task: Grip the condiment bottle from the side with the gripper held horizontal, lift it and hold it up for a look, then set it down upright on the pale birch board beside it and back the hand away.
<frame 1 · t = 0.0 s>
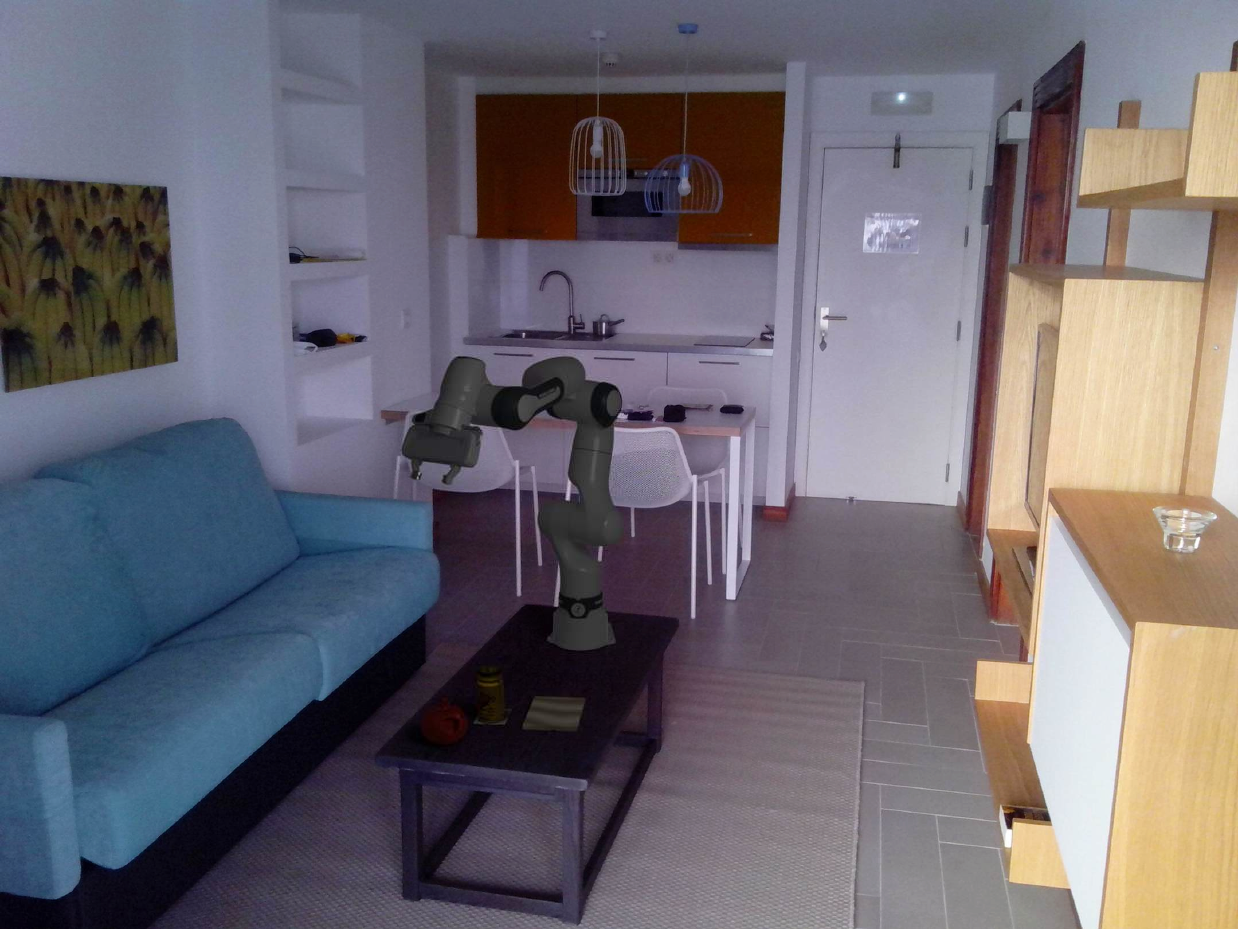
hand: (430, 481, 231), 54 cm above the table, tool tilted 30°, fingers open, 8 cm apart
pomegranate: (445, 739, 228), on the table
board: (554, 715, 239), on the table
condiment: (492, 718, 239), on the table
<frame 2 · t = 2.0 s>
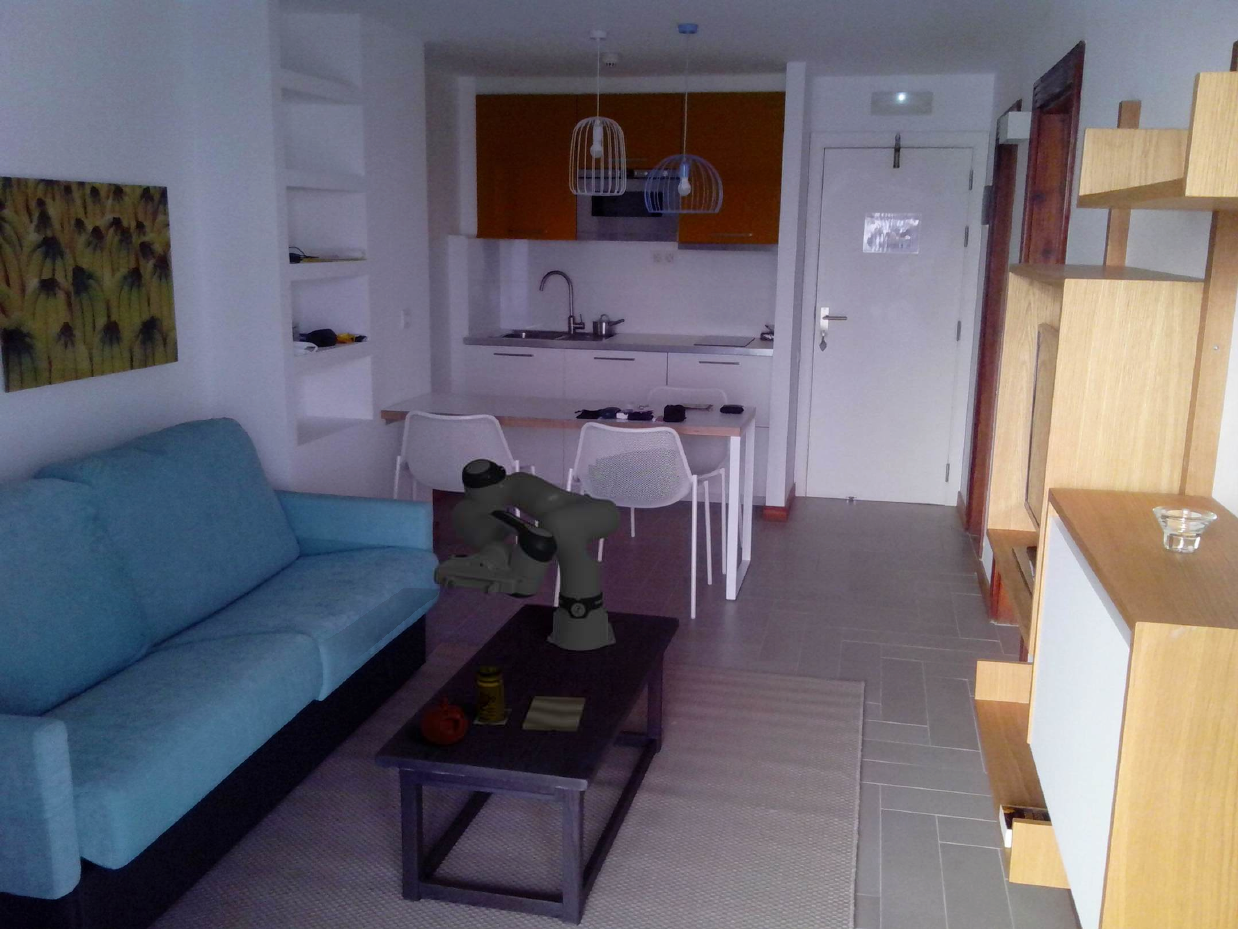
hand: (467, 588, 245), 27 cm above the table, tool horizontal, fingers open, 8 cm apart
nothing on the table moved.
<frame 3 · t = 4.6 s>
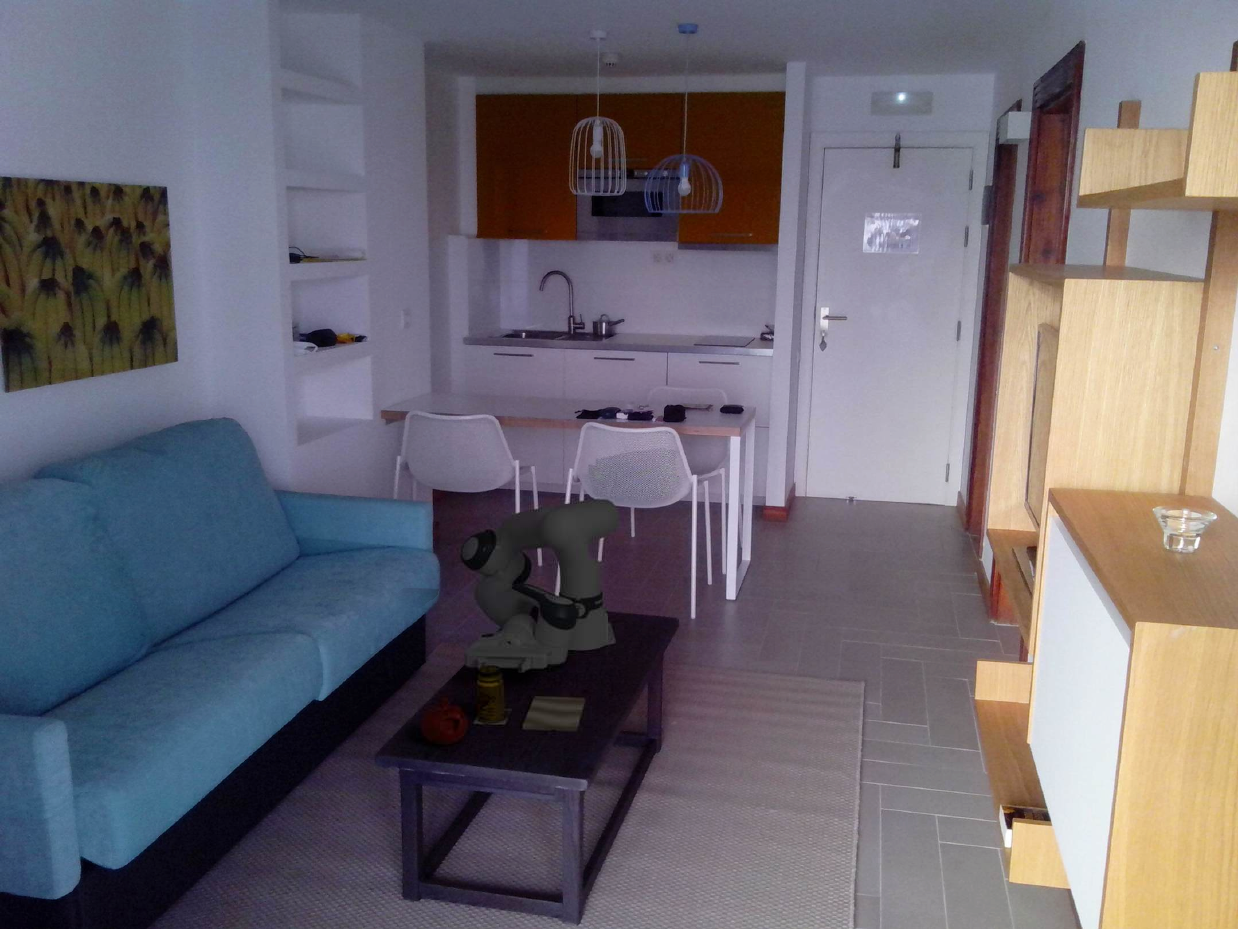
hand: (501, 669, 248), 7 cm above the table, tool horizontal, fingers open, 8 cm apart
nothing on the table moved.
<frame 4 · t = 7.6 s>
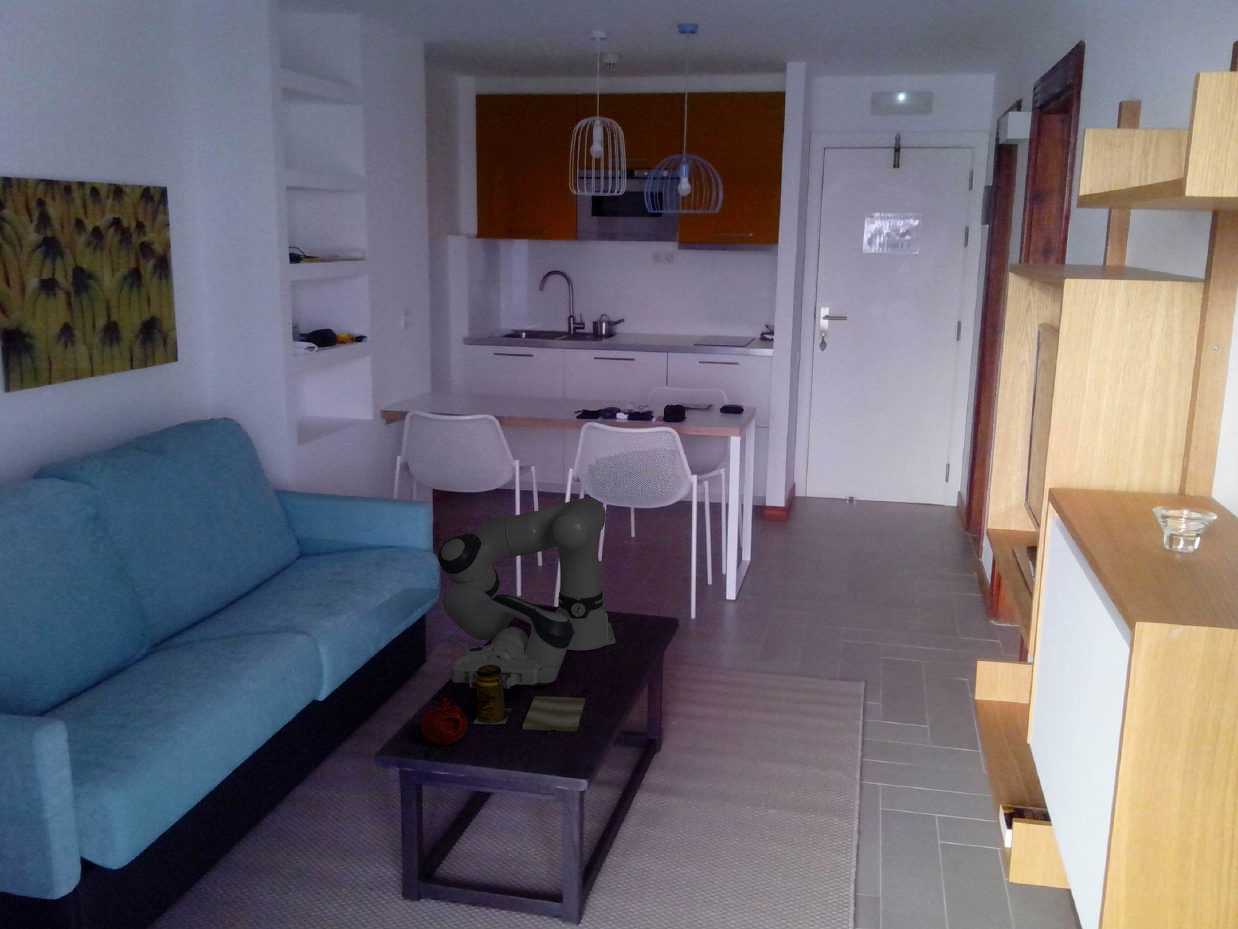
hand: (489, 685, 236), 8 cm above the table, tool horizontal, fingers closed on condiment, 6 cm apart
condiment: (492, 717, 239), on the table, touching gripper
everything else where it was.
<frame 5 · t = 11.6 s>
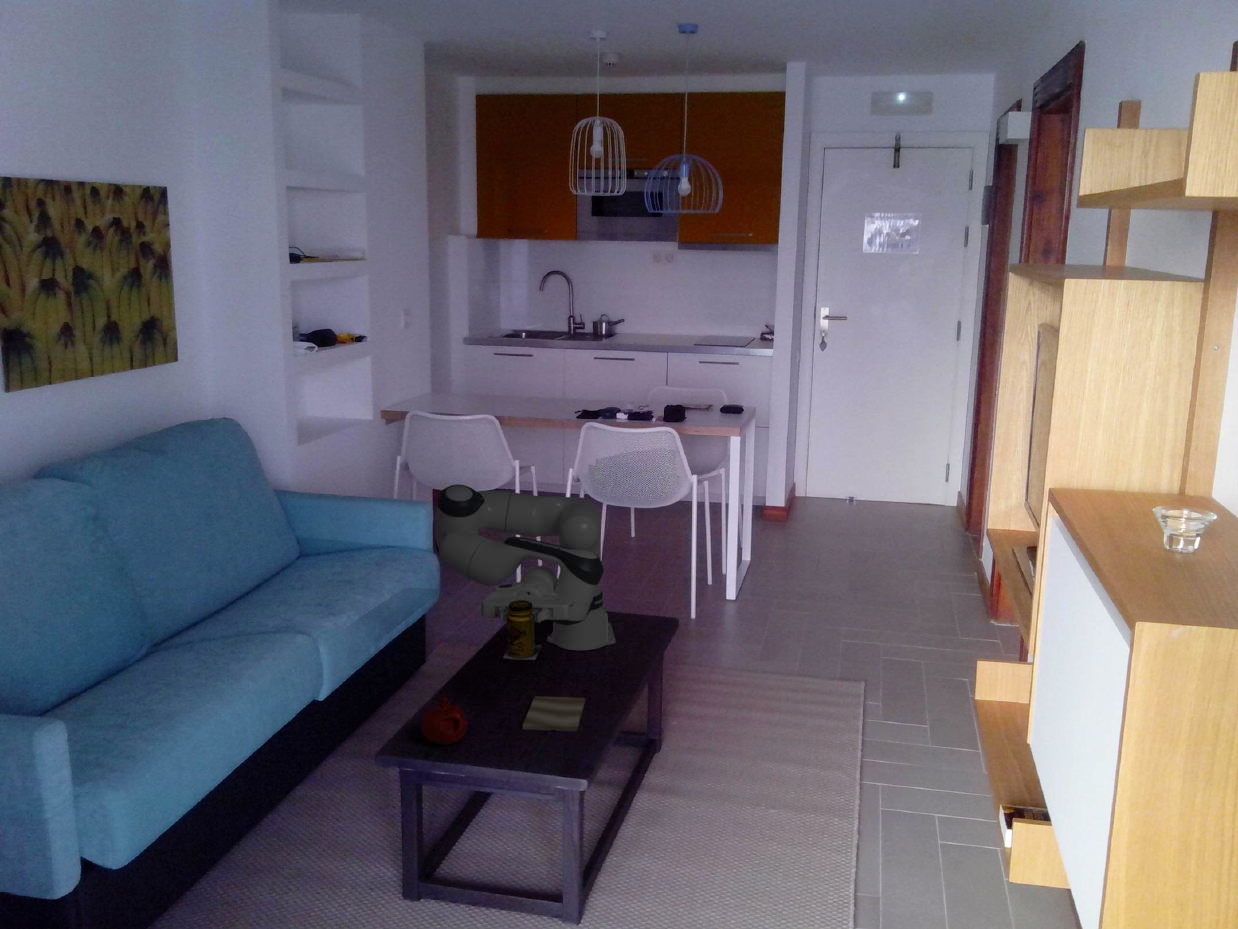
hand: (520, 619, 233), 24 cm above the table, tool horizontal, fingers closed on condiment, 6 cm apart
condiment: (522, 653, 236), point 15 cm above the table, touching gripper
everything else where it was.
when the fingers open (10 cm above the table, at t = 15.5 s): condiment stays where it is, resting on board.
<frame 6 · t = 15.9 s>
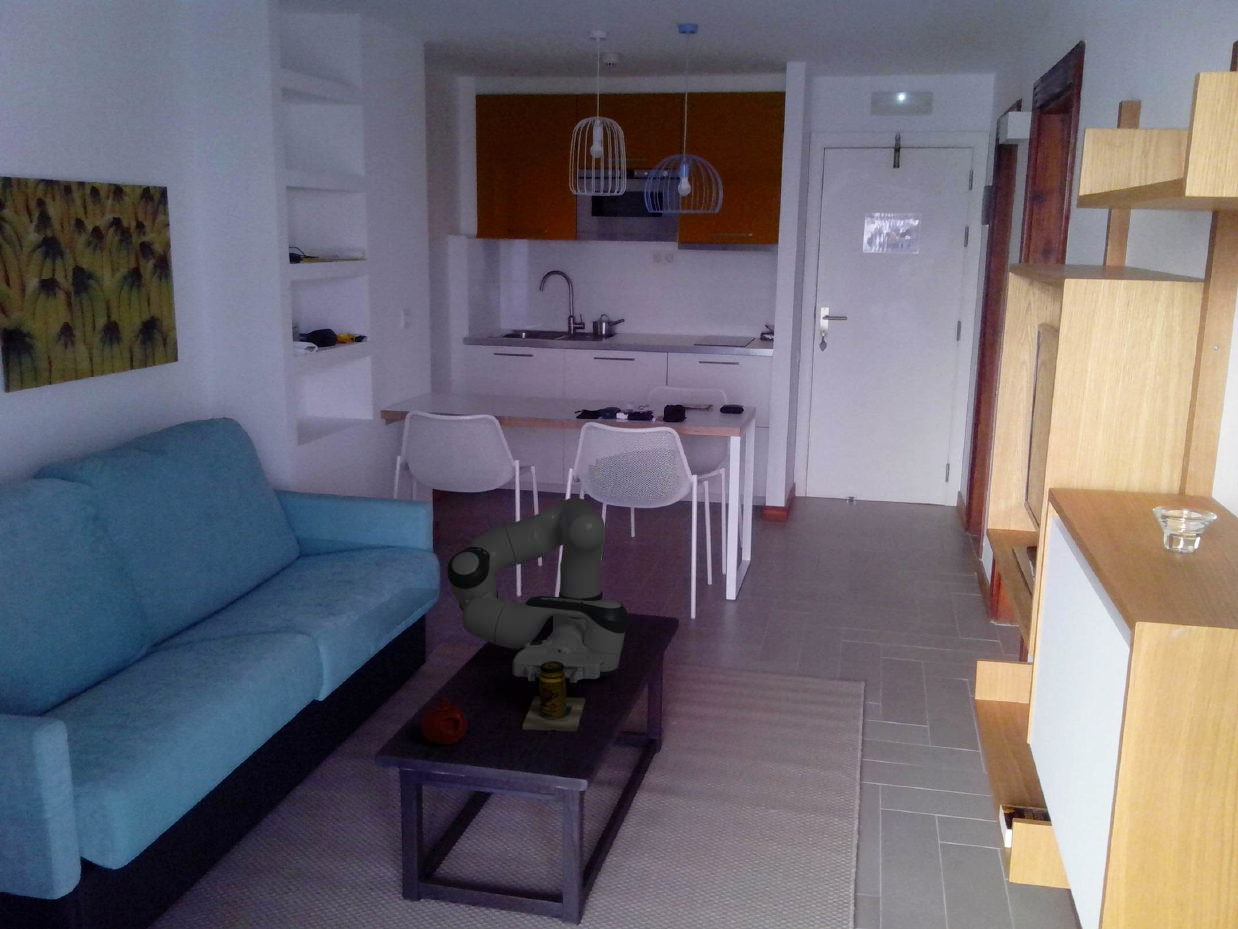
hand: (552, 679, 235), 10 cm above the table, tool horizontal, fingers open, 8 cm apart
condiment: (554, 714, 238), point 1 cm above the table, touching board
everything else where it was.
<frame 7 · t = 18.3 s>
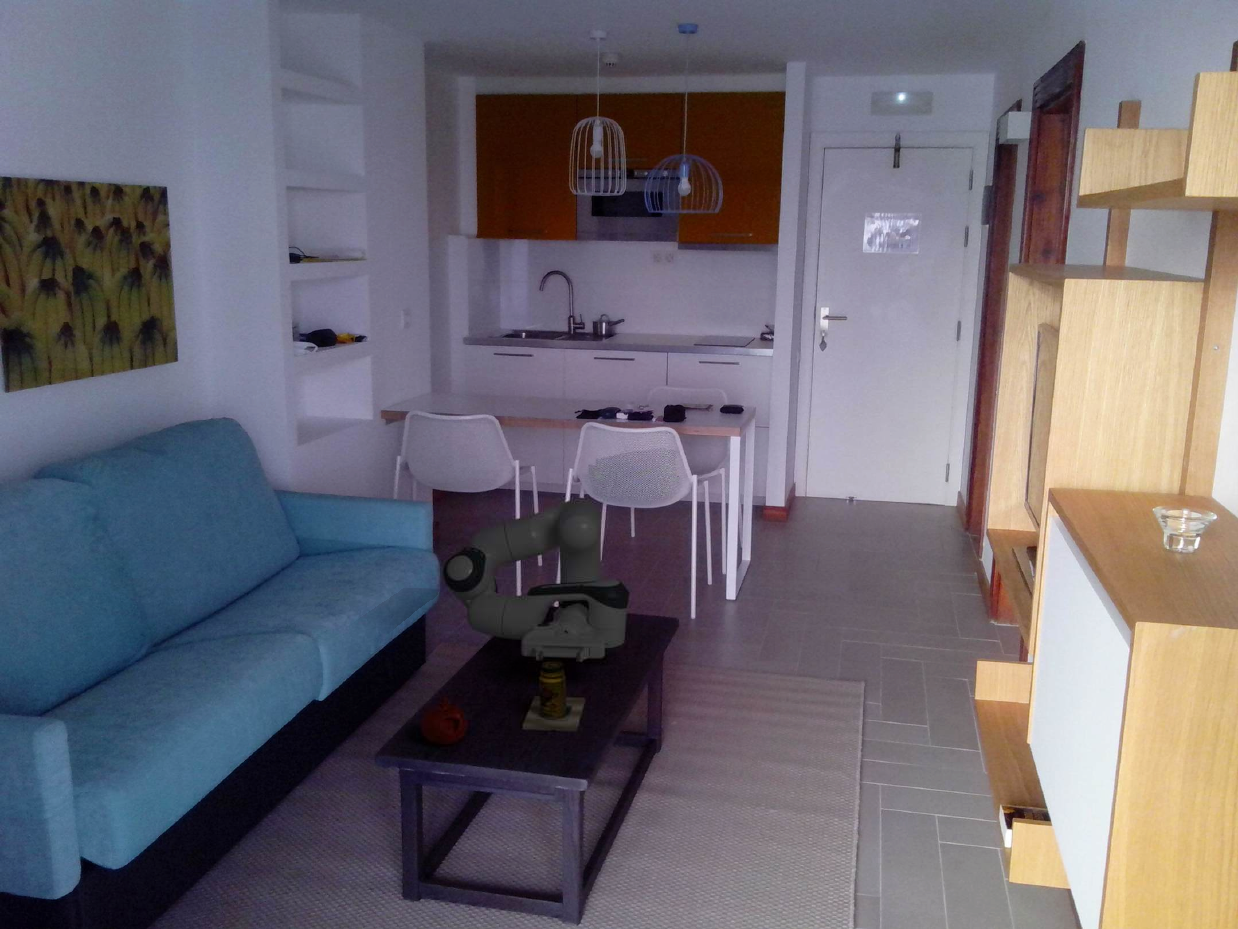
hand: (559, 658, 245), 11 cm above the table, tool horizontal, fingers open, 8 cm apart
nothing on the table moved.
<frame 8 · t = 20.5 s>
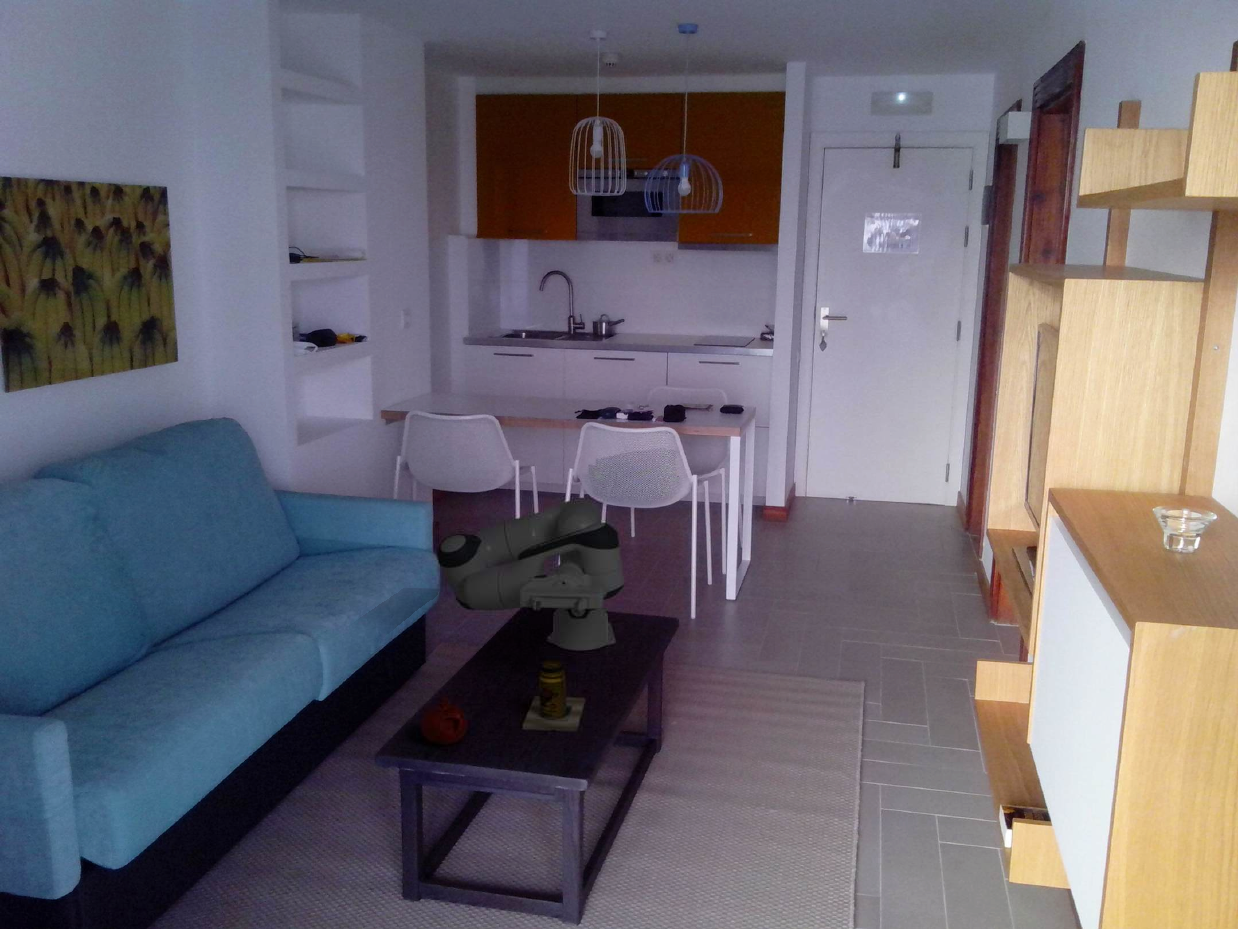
hand: (556, 607, 240), 24 cm above the table, tool horizontal, fingers open, 8 cm apart
nothing on the table moved.
at the end: condiment inside the target area (0.1 cm from its centre), point 0.8 cm above the table; condiment tilted 0°; the gripper is holding nothing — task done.
